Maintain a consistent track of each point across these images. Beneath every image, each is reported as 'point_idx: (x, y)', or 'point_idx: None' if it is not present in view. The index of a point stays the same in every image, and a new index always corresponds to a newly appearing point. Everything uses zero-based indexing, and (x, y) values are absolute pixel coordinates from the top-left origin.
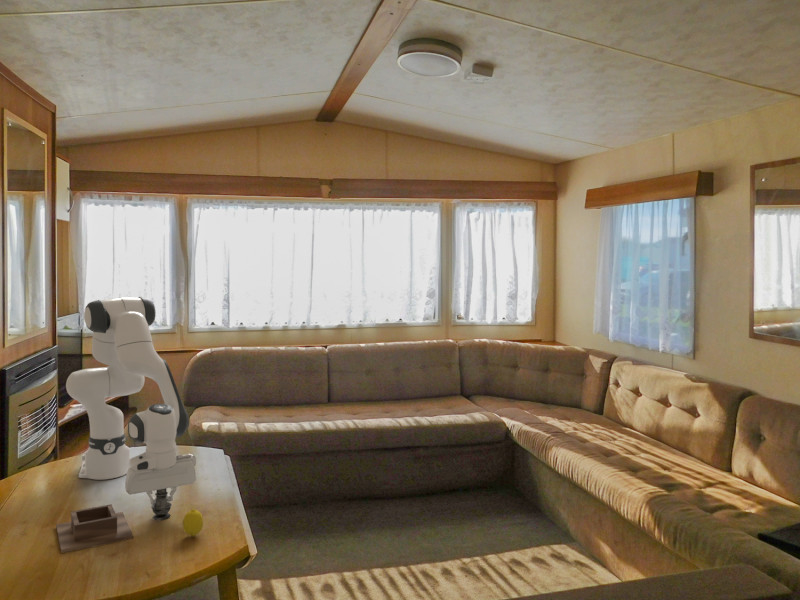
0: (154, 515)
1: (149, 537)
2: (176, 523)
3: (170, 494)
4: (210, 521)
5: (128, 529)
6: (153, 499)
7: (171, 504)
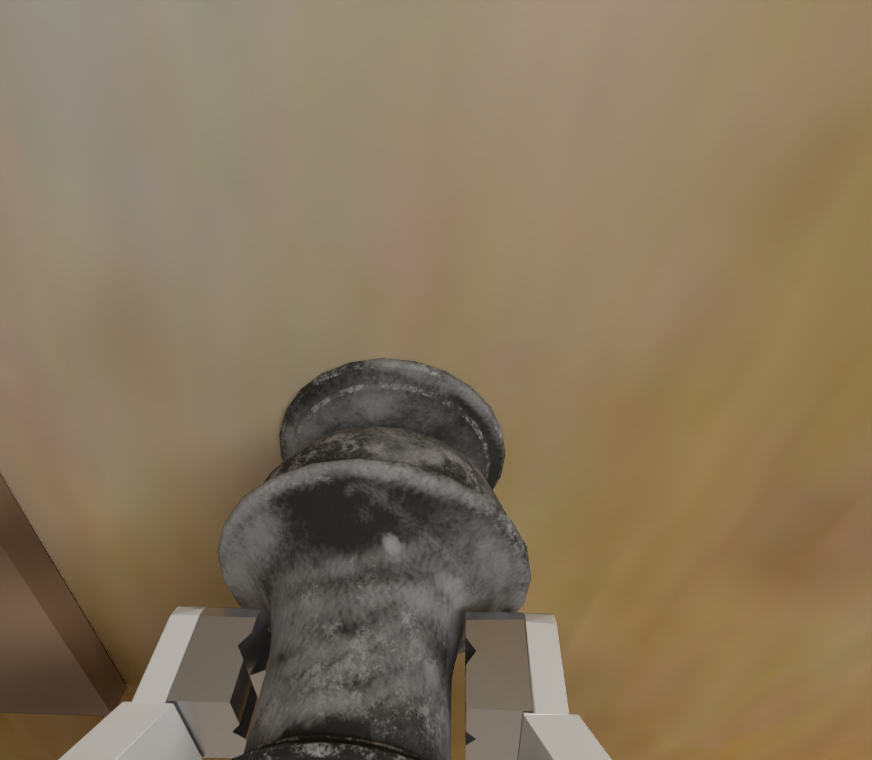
0: (303, 434)
1: None
2: None
3: (527, 758)
4: (780, 692)
5: (48, 640)
6: (205, 752)
7: (520, 605)
